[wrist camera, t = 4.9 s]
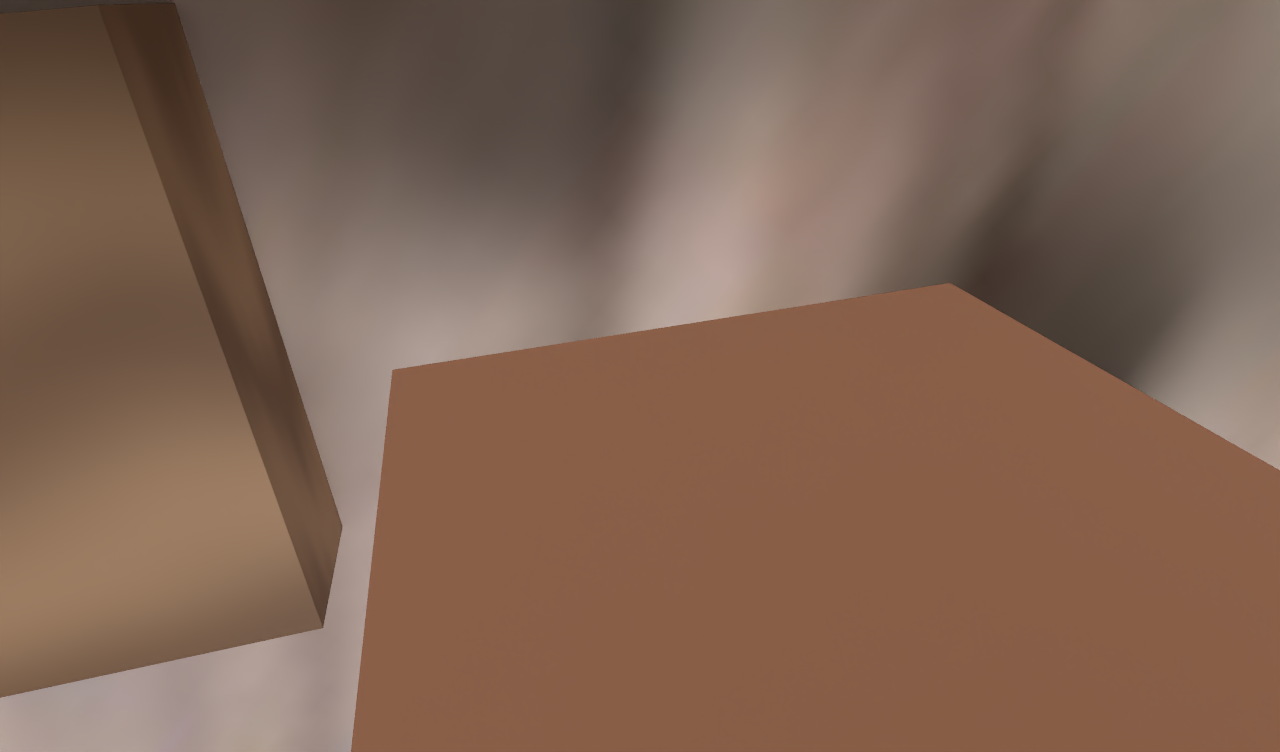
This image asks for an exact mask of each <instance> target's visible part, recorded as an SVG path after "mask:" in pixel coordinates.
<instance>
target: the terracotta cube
mask: <svg viewBox="0 0 1280 752" xmlns="http://www.w3.org/2000/svg"><path fill="white" fill-rule="evenodd" d="M351 752H1280V470H1278V469H1276V468H1274V467H1273V466H1271V465H1269V464H1267V463H1266V462H1264V461H1262V460H1260V459H1259V458H1257V457H1255V456H1253V455H1252V454H1250V453H1248V452H1246V451H1245V450H1243V449H1241V448H1239V447H1238V446H1236V445H1234V444H1232V443H1230V442H1229V441H1227V440H1225V439H1223V438H1222V437H1220V436H1218V435H1216V434H1215V433H1213V432H1211V431H1209V430H1208V429H1206V428H1204V427H1202V426H1201V425H1199V424H1197V423H1195V422H1194V421H1192V420H1190V419H1188V418H1187V417H1185V416H1183V415H1181V414H1180V413H1178V412H1176V411H1174V410H1172V409H1171V408H1169V407H1167V406H1165V405H1164V404H1162V403H1160V402H1158V401H1157V400H1155V399H1153V398H1151V397H1150V396H1148V395H1146V394H1144V393H1143V392H1141V391H1139V390H1137V389H1136V388H1134V387H1132V386H1130V385H1129V384H1127V383H1125V382H1123V381H1122V380H1120V379H1118V378H1116V377H1114V376H1113V375H1111V374H1109V373H1107V372H1106V371H1104V370H1102V369H1100V368H1099V367H1097V366H1095V365H1093V364H1092V363H1090V362H1088V361H1086V360H1085V359H1083V358H1081V357H1079V356H1078V355H1076V354H1074V353H1072V352H1071V351H1069V350H1067V349H1065V348H1064V347H1062V346H1060V345H1058V344H1056V343H1055V342H1053V341H1051V340H1049V339H1048V338H1046V337H1044V336H1042V335H1041V334H1039V333H1037V332H1035V331H1034V330H1032V329H1030V328H1028V327H1027V326H1025V325H1023V324H1021V323H1020V322H1018V321H1016V320H1014V319H1013V318H1011V317H1009V316H1007V315H1006V314H1004V313H1002V312H1000V311H998V310H997V309H995V308H993V307H991V306H990V305H988V304H986V303H984V302H983V301H981V300H979V299H977V298H976V297H974V296H972V295H970V294H969V293H967V292H965V291H963V290H962V289H960V288H958V287H956V286H955V285H953V284H951V283H947V284H940V285H934V286H928V287H921V288H915V289H908V290H902V291H895V292H889V293H883V294H876V295H870V296H863V297H857V298H851V299H844V300H838V301H831V302H825V303H819V304H812V305H806V306H799V307H793V308H786V309H780V310H774V311H767V312H761V313H754V314H748V315H742V316H735V317H729V318H722V319H716V320H710V321H703V322H697V323H690V324H684V325H678V326H671V327H665V328H658V329H652V330H645V331H639V332H633V333H626V334H620V335H613V336H607V337H601V338H594V339H588V340H581V341H575V342H569V343H562V344H556V345H549V346H543V347H536V348H530V349H524V350H517V351H511V352H504V353H498V354H492V355H485V356H479V357H472V358H466V359H460V360H453V361H447V362H440V363H434V364H427V365H421V366H415V367H408V368H402V369H395V370H393V371H392V380H391V389H390V398H389V408H388V417H387V426H386V435H385V444H384V454H383V463H382V472H381V481H380V490H379V500H378V509H377V518H376V527H375V536H374V545H373V555H372V564H371V573H370V582H369V591H368V601H367V610H366V619H365V628H364V637H363V647H362V656H361V665H360V674H359V683H358V693H357V702H356V711H355V720H354V729H353V739H352V748H351Z"/></svg>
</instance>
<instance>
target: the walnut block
mask: <svg viewBox="0 0 1280 752" xmlns="http://www.w3.org/2000/svg"><path fill="white" fill-rule="evenodd" d="M341 532H342V524H341V521H340V518H339V514H338V511H337V508H336V505H335V502H334V499H333V496H332V493H331V490H330V486H329V483H328V480H327V477H326V474H325V471H324V468H323V465H322V461H321V458H320V455H319V452H318V449H317V446H316V443H315V440H314V437H313V433H312V430H311V427H310V424H309V421H308V418H307V415H306V412H305V409H304V405H303V402H302V399H301V396H300V393H299V390H298V387H297V384H296V380H295V377H294V374H293V371H292V368H291V365H290V362H289V359H288V356H287V352H286V349H285V346H284V343H283V340H282V337H281V334H280V331H279V327H278V324H277V321H276V318H275V315H274V312H273V309H272V306H271V303H270V299H269V296H268V293H267V290H266V287H265V284H264V281H263V278H262V274H261V271H260V268H259V265H258V262H257V259H256V256H255V253H254V250H253V246H252V243H251V240H250V237H249V234H248V231H247V228H246V225H245V222H244V218H243V215H242V212H241V209H240V206H239V203H238V200H237V197H236V193H235V190H234V187H233V184H232V181H231V178H230V175H229V172H228V169H227V165H226V162H225V159H224V156H223V153H222V150H221V147H220V144H219V140H218V137H217V134H216V131H215V128H214V125H213V122H212V119H211V116H210V112H209V109H208V106H207V103H206V100H205V97H204V94H203V91H202V88H201V84H200V81H199V78H198V75H197V72H196V69H195V66H194V63H193V59H192V56H191V53H190V50H189V47H188V44H187V41H186V38H185V35H184V31H183V28H182V25H181V22H180V19H179V16H178V13H177V10H176V6H175V3H162V4H119V5H92V6H81V7H69V8H58V9H46V10H35V11H24V12H12V13H1V14H0V698H1V697H5V696H10V695H15V694H19V693H24V692H29V691H33V690H38V689H42V688H47V687H52V686H56V685H61V684H66V683H70V682H75V681H80V680H84V679H89V678H93V677H98V676H103V675H107V674H112V673H117V672H121V671H126V670H130V669H135V668H140V667H144V666H149V665H154V664H158V663H163V662H168V661H172V660H177V659H181V658H186V657H191V656H195V655H200V654H205V653H209V652H214V651H218V650H223V649H228V648H232V647H237V646H242V645H246V644H251V643H255V642H260V641H265V640H269V639H274V638H279V637H283V636H288V635H293V634H297V633H302V632H306V631H311V630H316V629H320V628H323V625H324V620H325V614H326V609H327V604H328V599H329V594H330V588H331V583H332V578H333V573H334V568H335V563H336V557H337V552H338V547H339V542H340V537H341Z"/></svg>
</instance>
